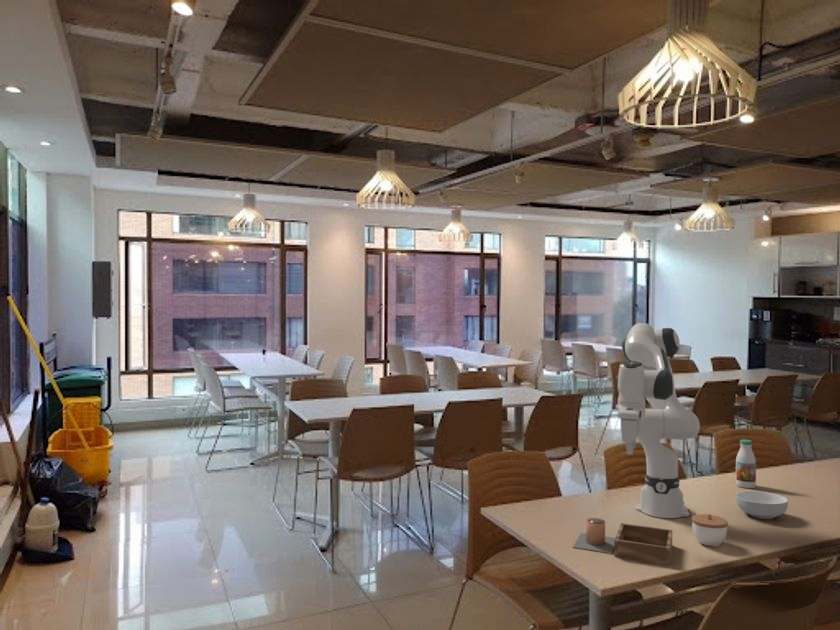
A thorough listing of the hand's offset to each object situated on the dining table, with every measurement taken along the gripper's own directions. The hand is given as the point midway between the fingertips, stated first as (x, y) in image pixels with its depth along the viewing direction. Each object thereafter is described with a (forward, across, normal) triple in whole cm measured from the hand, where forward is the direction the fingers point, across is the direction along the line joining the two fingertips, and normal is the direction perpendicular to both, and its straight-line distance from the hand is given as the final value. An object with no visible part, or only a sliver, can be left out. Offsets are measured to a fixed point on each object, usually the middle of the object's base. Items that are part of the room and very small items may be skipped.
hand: (631, 451), depth 209 cm
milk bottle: (+29, -85, +39) cm, 98 cm away
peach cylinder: (+29, +10, -10) cm, 32 cm away
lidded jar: (+29, -6, +24) cm, 38 cm away
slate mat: (+29, +10, -10) cm, 32 cm away
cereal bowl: (+29, -44, +42) cm, 68 cm away
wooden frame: (+29, +10, +5) cm, 31 cm away
